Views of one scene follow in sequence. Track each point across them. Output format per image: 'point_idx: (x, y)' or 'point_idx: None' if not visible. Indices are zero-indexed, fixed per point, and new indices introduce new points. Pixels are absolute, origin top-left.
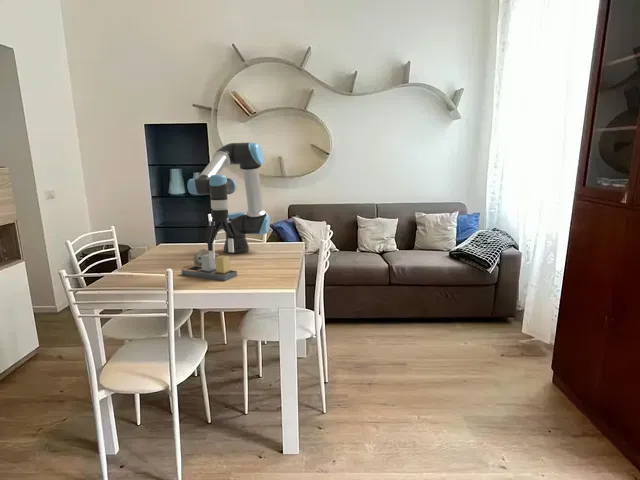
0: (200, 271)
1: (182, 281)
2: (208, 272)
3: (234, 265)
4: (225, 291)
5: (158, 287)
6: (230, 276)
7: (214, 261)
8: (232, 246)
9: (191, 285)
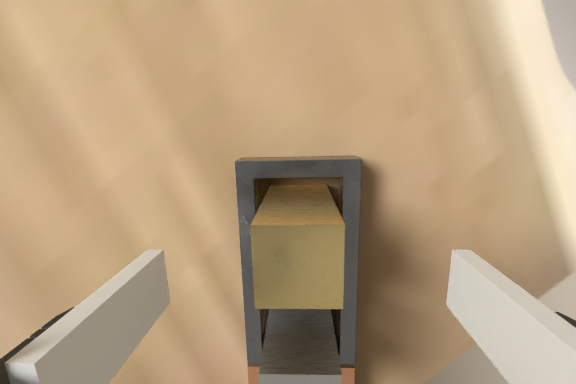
0: None
1: (441, 347)
2: None
3: None
4: (534, 8)
5: None
6: (303, 158)
7: (274, 332)
8: (126, 285)
9: None
